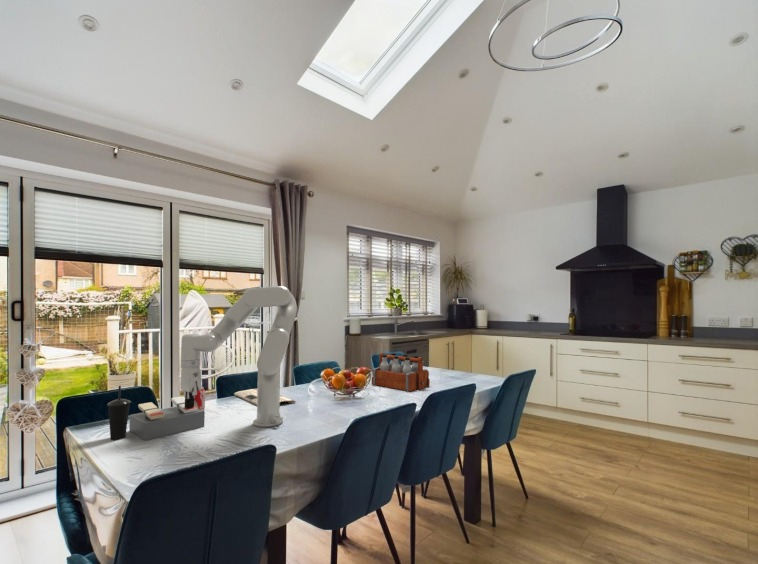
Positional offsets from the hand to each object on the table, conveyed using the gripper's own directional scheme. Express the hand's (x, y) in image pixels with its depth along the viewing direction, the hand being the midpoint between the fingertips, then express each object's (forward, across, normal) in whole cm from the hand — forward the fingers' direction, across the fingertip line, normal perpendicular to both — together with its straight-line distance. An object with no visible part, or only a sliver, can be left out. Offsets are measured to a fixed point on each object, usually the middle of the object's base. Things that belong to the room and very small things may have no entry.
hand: (189, 407), depth 169 cm
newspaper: (+9, +19, -50) cm, 54 cm away
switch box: (+9, +8, +6) cm, 13 cm away
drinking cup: (+9, +8, +24) cm, 26 cm away
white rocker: (0, +6, 0) cm, 6 cm away
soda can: (+9, +19, -12) cm, 24 cm away
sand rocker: (0, +6, +13) cm, 14 cm away
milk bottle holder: (+8, -14, -126) cm, 127 cm away
